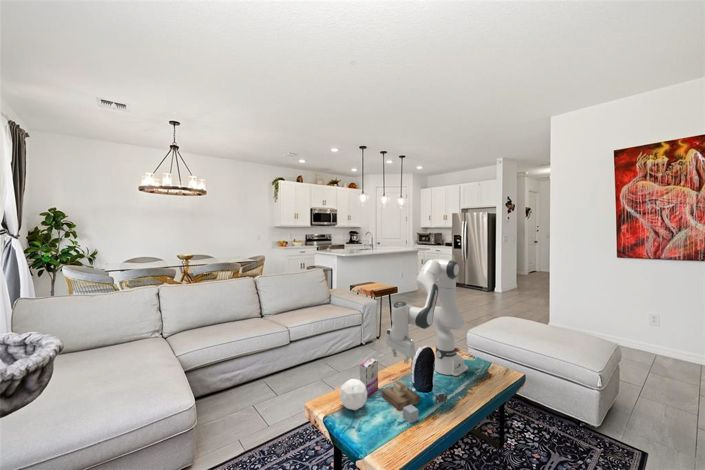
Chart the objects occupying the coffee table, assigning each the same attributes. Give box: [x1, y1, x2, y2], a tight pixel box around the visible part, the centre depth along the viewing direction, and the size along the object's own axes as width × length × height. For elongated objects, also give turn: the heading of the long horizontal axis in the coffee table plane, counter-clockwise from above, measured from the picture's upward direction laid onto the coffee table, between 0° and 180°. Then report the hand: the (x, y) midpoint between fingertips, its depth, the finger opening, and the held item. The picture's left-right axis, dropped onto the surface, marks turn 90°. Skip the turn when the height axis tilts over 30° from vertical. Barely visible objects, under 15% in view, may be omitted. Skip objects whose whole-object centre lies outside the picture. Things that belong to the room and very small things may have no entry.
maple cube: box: [392, 380, 408, 397], centre depth 157 cm, size 5×5×5 cm
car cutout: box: [435, 393, 463, 404], centre depth 156 cm, size 15×7×4 cm, turn 96°
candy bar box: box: [359, 357, 379, 398], centre depth 165 cm, size 11×5×16 cm, turn 143°
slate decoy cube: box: [402, 405, 419, 424], centre depth 141 cm, size 5×5×5 cm
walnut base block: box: [381, 386, 421, 411], centre depth 157 cm, size 14×14×4 cm
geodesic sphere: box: [339, 378, 368, 411], centre depth 149 cm, size 15×14×14 cm
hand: (400, 359), depth 157 cm, fingers open, 8 cm apart
